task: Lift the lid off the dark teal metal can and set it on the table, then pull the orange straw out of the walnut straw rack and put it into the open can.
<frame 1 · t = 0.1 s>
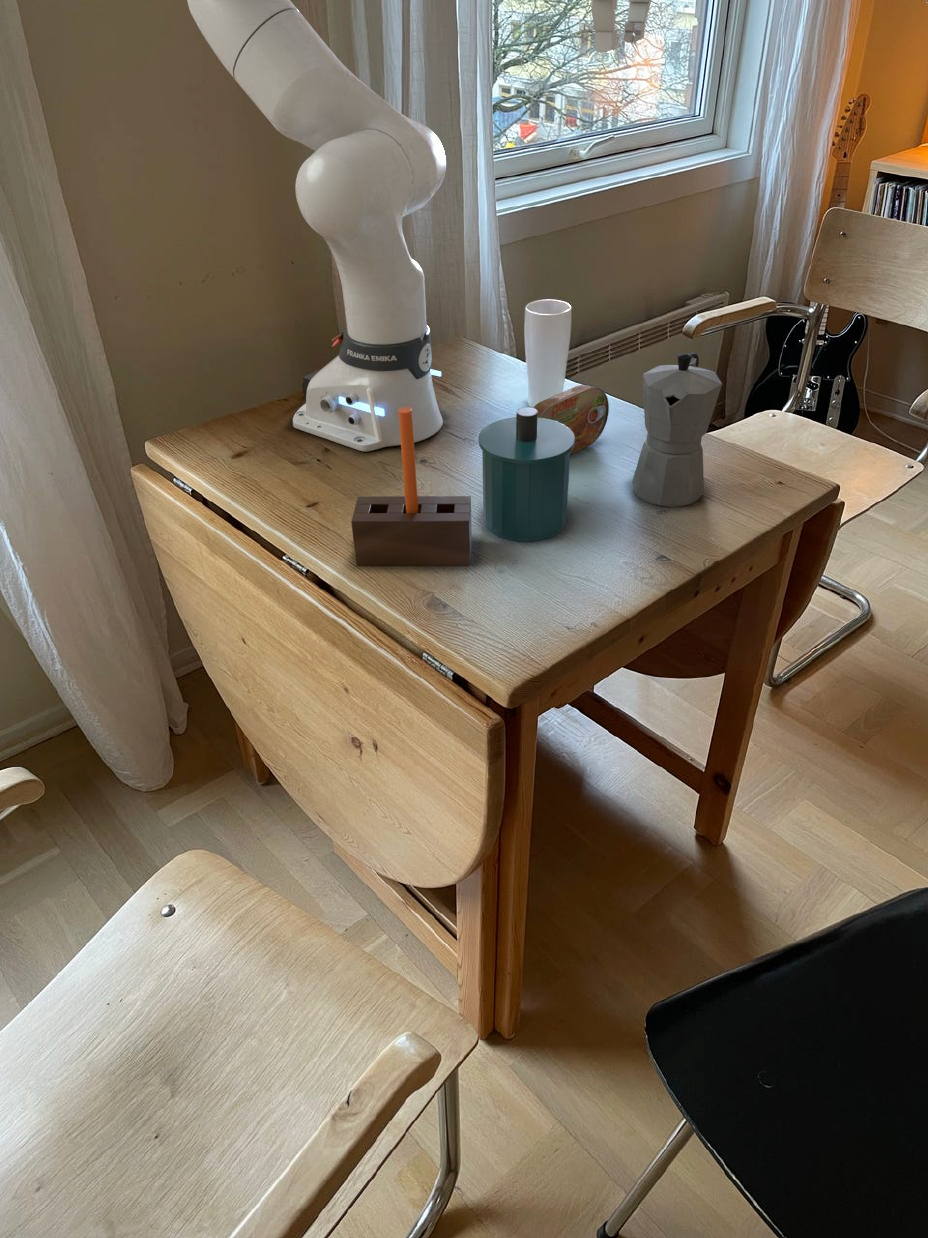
hand: (619, 46, 92), 48 cm above the table, tool pointing down, fingers open, 8 cm apart
tin: (564, 452, 124), on the table
can: (525, 519, 110), on the table
can lid: (526, 441, 104), point 11 cm above the table, touching can
coffeepot: (668, 487, 116), on the table
straw rack: (415, 552, 105), on the table
drinking glass: (545, 406, 136), on the table
straw: (410, 485, 99), in the straw rack
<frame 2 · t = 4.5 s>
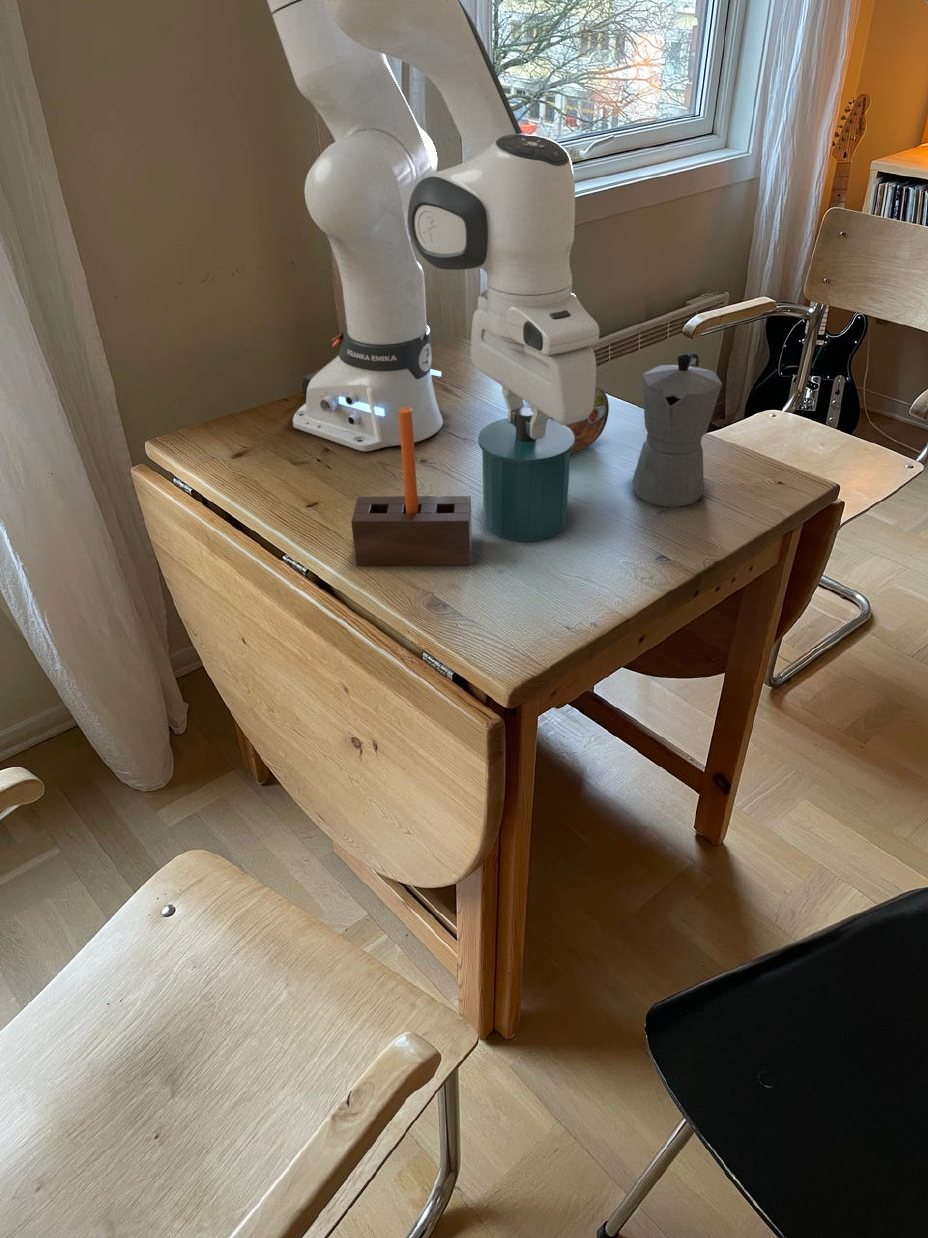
hand: (526, 430, 103), 12 cm above the table, tool pointing down, fingers closed on can lid, 2 cm apart
can lid: (526, 440, 104), point 11 cm above the table, touching can, gripper
everything else where it was.
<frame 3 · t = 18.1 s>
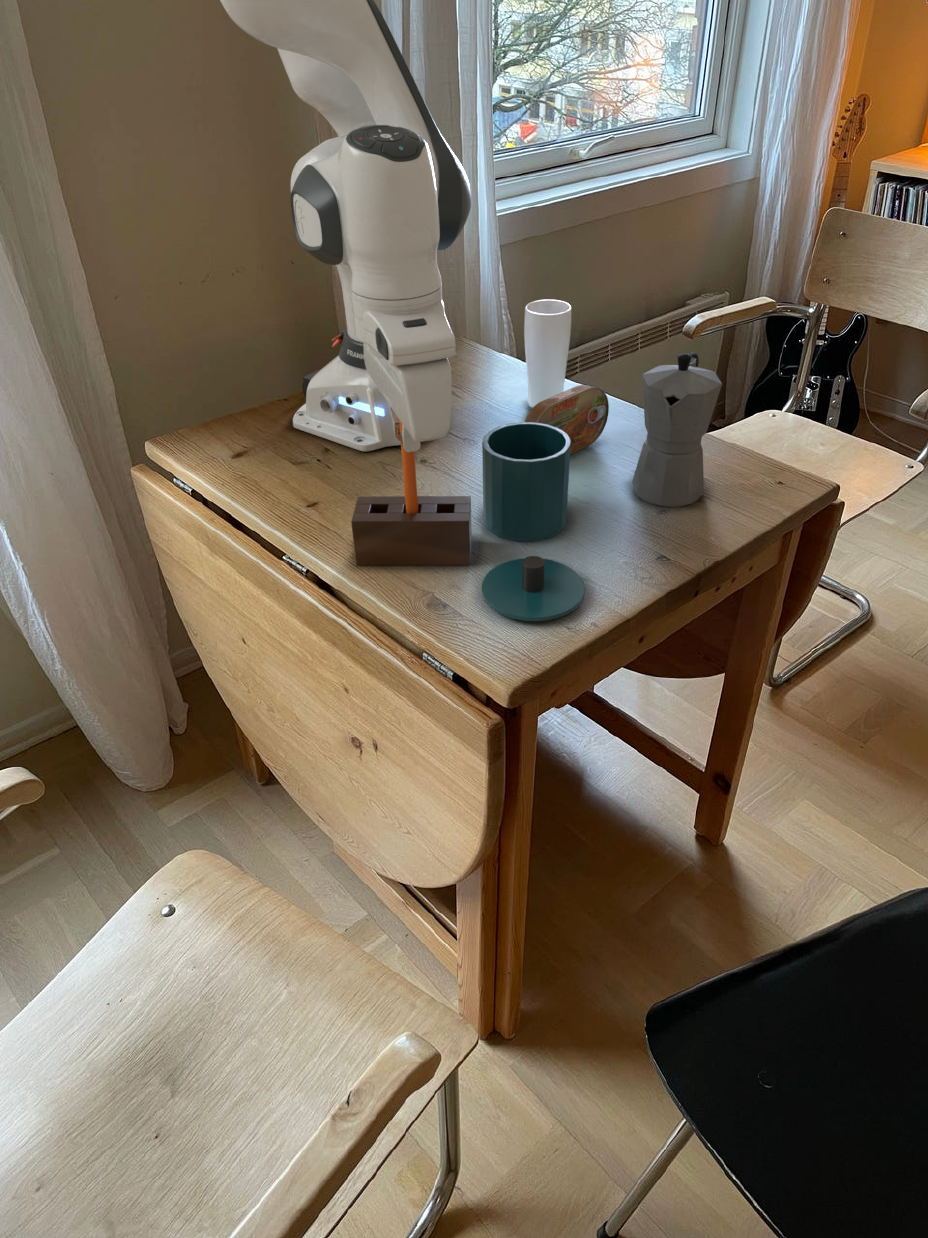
hand: (407, 443, 96), 14 cm above the table, tool pointing down, fingers closed on straw, 1 cm apart
can lid: (532, 589, 97), point 1 cm above the table
straw: (410, 484, 99), in the straw rack, touching gripper
everything else where it was.
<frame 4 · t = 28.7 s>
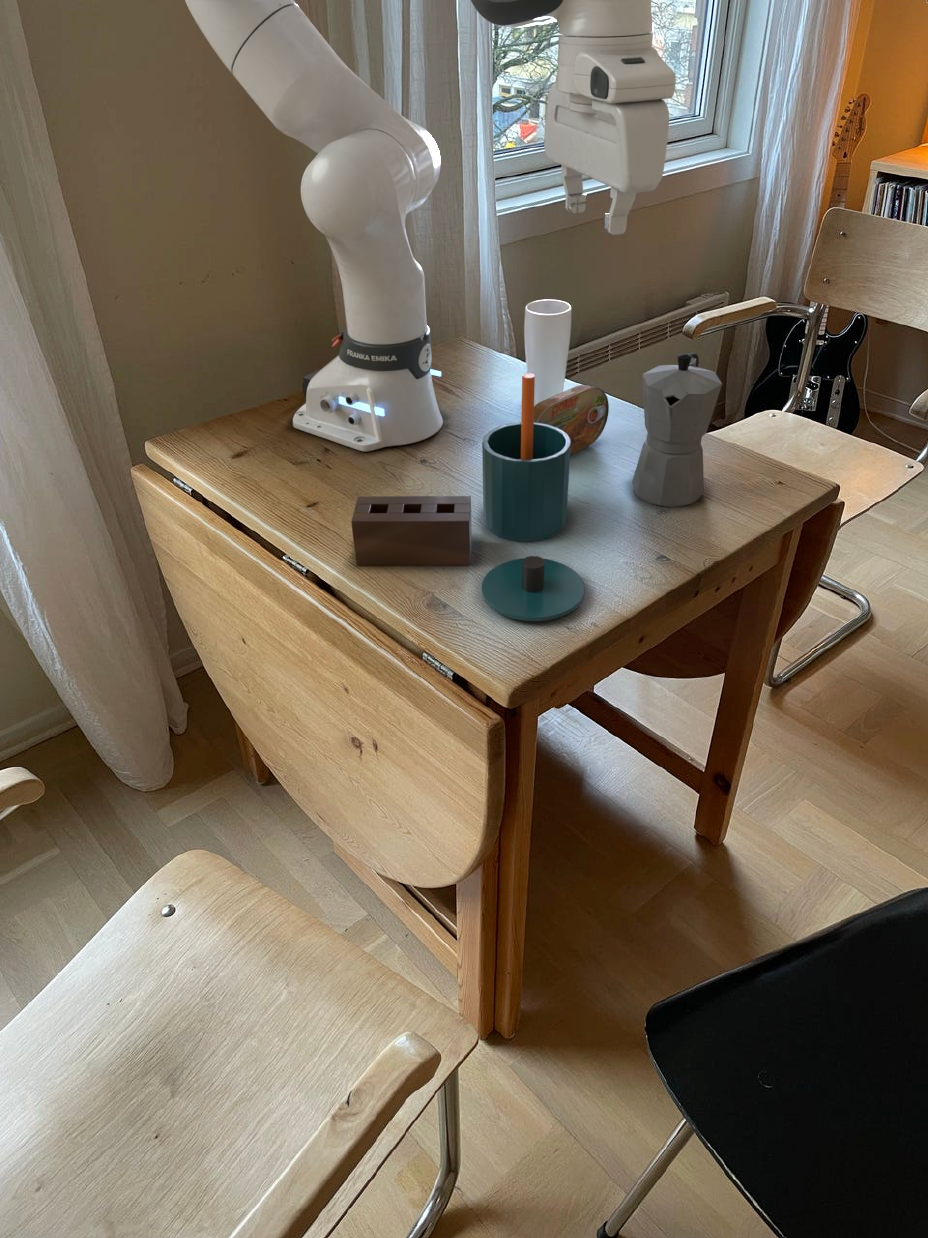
hand: (594, 221, 94), 33 cm above the table, tool pointing down, fingers open, 8 cm apart
straw: (527, 449, 104), in the can, point 10 cm above the table
everything else where it was.
at the end: can lid inside the target area (0.3 cm from its centre), point 0.6 cm above the table; straw inside the target area in the can (0.1 cm from its centre), point 9.6 cm above the can's base; the gripper is holding nothing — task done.
